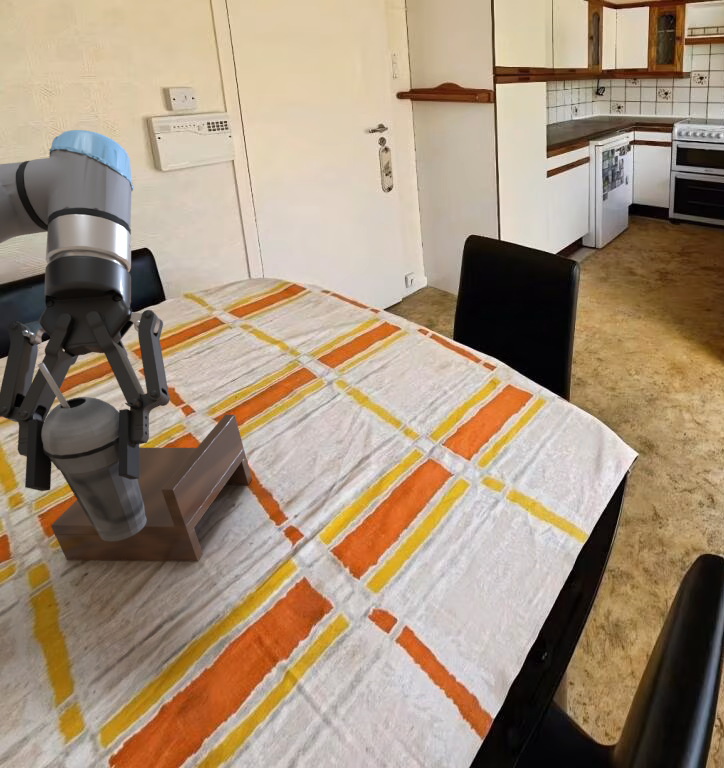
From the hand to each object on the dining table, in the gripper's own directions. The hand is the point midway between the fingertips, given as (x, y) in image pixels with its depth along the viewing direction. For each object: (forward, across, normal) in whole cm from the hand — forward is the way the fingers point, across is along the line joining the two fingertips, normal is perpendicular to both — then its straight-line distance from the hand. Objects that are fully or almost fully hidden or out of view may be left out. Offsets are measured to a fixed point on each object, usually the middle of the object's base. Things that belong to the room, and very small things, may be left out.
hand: (84, 482), depth 60 cm
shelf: (-1, +4, -34) cm, 34 cm away
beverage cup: (+4, 0, -9) cm, 9 cm away
